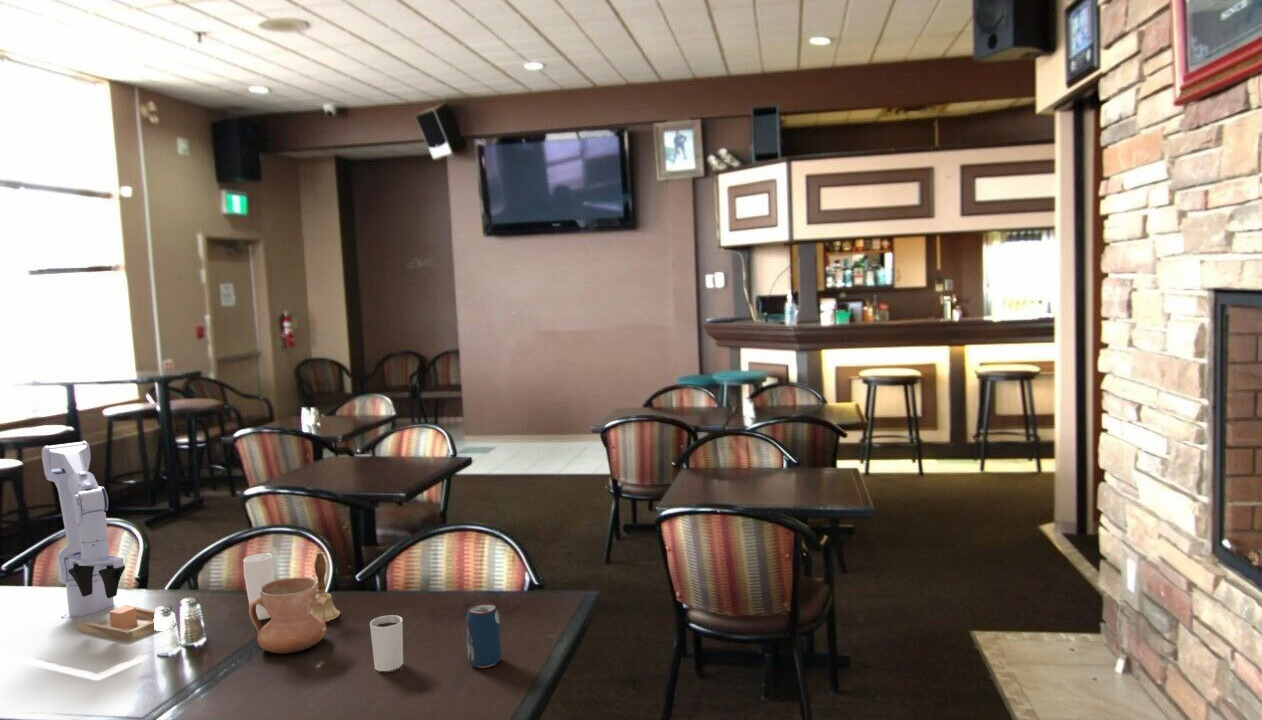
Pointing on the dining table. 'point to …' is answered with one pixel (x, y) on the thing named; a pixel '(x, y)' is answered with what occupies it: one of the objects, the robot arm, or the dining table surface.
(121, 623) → the terracotta block
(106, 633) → the shallow wooden tray
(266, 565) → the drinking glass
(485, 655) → the soda can
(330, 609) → the hand bell
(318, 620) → the ceramic jug
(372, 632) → the white cup
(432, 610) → the dining table surface
